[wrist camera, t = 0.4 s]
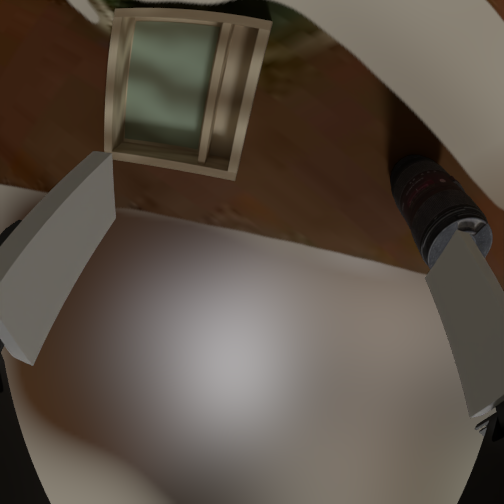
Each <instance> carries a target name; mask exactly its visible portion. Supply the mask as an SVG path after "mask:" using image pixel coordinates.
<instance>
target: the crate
mask: <svg viewBox="0 0 504 504" xmlns="http://www.w3.org/2000/svg"><path fill="white" fill-rule="evenodd" d="M271 27H272V21H268V20H263V19H257V18H252V17H246V16H240V15H234V14H227V13H219V12H211V11H201V10H189V9H172V8H120V9H115V13H114V19H113V26H112V33H111V40H110V49H109V58H108V69H107V81H106V98H105V127H104V152H106V153H112V159H113V160H120V161H126V162H133V163H139V164H146V165H152V166H158V167H164V168H170V169H175V170H181V171H187V172H192V173H197V174H203V175H208V176H213V177H218V178H223V179H228V180H233V181H235V179H236V175H237V171H238V167H239V162H240V158H241V153H242V149H243V144H244V140H245V135H246V131H247V126H248V122H249V118H250V113H251V109H252V105H253V100H254V96H255V92H256V88H257V83H258V79H259V75H260V71H261V67H262V63H263V59H264V55H265V51H266V47H267V43H268V39H269V35H270V31H271Z"/></svg>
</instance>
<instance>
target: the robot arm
mask: <svg viewBox="0 0 504 504" xmlns="http://www.w3.org/2000/svg"><path fill="white" fill-rule="evenodd" d="M115 219H116V214H115V201H114V186H113V165H112V153H106V152H97V151H93V152H92V153H91V154H90V155H89V156H87V157H86V158H85V159H84V160H83V161H82V162H81V163H79V164H78V165H77V166H76V167H75V168H74V169H73V170H72V171H71V172H70V173H69V174H67V175H66V176H65V177H64V178H63V179H62V180H61V181H60V182H59V183H58V184H57V185H56V186H55V187H54V188H53V189H52V190H51V191H50V192H49V193H48V194H47V195H46V196H45V197H44V198H43V199H42V200H41V201H40V202H39V203H38V204H37V205H36V206H35V207H34V208H33V209H32V211H31V212H30V213H29V214H28V215H27V216H26V217H25V218H24V219H23V220H18V221H16V222H15V223H13V224H12V225H10V226H9V227H8V228H6V229H5V230H4V231H3V232H2V233H1V235H0V504H51V503H50V501H49V499H48V497H47V495H46V493H45V491H44V488H43V486H42V484H41V482H40V480H39V477H38V475H37V472H36V470H35V468H34V465H33V463H32V460H31V457H30V455H29V452H28V449H27V446H26V444H25V441H24V438H23V435H22V432H21V429H20V425H19V422H18V419H17V415H16V412H15V408H14V404H13V400H12V396H11V392H10V388H9V383H8V378H7V374H6V368H5V363H4V359H3V357H2V355H1V351H2V349H3V347H4V346H5V347H6V348H7V350H8V351H9V352H10V354H11V355H12V356H13V357H15V358H17V359H19V360H21V361H23V362H26V363H28V364H30V365H32V366H33V365H34V362H35V360H36V358H37V356H38V354H39V351H40V349H41V347H42V345H43V343H44V341H45V339H46V337H47V335H48V333H49V331H50V329H51V327H52V325H53V323H54V320H55V319H56V317H57V315H58V313H59V311H60V309H61V307H62V305H63V304H64V302H65V300H66V298H67V296H68V294H69V293H70V291H71V289H72V287H73V286H74V284H75V282H76V280H77V279H78V277H79V275H80V274H81V272H82V270H83V268H84V267H85V265H86V264H87V262H88V260H89V259H90V257H91V255H92V254H93V252H94V251H95V249H96V247H97V246H98V244H99V243H100V241H101V240H102V238H103V237H104V235H105V233H106V232H107V230H108V229H109V227H110V226H111V224H112V223H113V221H114V220H115ZM425 279H426V282H427V284H428V286H429V289H430V291H431V294H432V296H433V299H434V302H435V304H436V306H437V309H438V312H439V314H440V317H441V320H442V323H443V326H444V329H445V331H446V335H447V337H448V340H449V343H450V347H451V350H452V353H453V356H454V359H455V363H456V366H457V369H458V373H459V376H460V380H461V384H462V388H463V391H464V395H465V399H466V403H467V408H468V412H469V417H470V418H471V417H477V416H482V415H484V414H486V413H487V412H489V411H490V410H492V409H493V408H494V407H496V411H497V412H496V413H494V414H493V415H491V416H490V417H488V418H487V419H485V420H483V421H482V422H480V423H479V424H477V426H476V428H475V429H476V430H477V429H479V428H481V427H483V426H484V425H486V427H485V428H483V429H481V430H480V431H479V433H481V434H482V435H483V436H484V439H483V442H482V445H481V448H480V450H479V453H478V456H477V459H476V461H475V464H474V467H473V469H472V472H471V474H470V477H469V479H468V481H467V484H466V486H465V489H464V491H463V493H462V495H461V497H460V499H459V501H458V503H457V504H504V292H503V290H502V288H501V286H500V284H499V282H498V281H497V279H496V277H495V275H494V273H493V272H492V270H491V268H490V267H489V265H488V263H487V262H486V260H485V258H484V257H483V255H482V253H481V252H480V250H479V249H478V247H477V245H476V244H475V242H474V241H473V239H472V238H471V236H470V235H469V233H466V232H463V231H460V230H456V231H455V233H454V235H453V236H452V238H451V239H450V241H449V243H448V244H447V246H446V247H445V249H444V250H443V252H442V254H441V255H440V257H439V258H438V260H437V261H436V263H435V264H434V266H433V267H432V269H431V270H430V271H429V273H428V274H427V276H426V277H425Z"/></svg>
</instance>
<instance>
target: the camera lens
mask: <svg viewBox="0 0 504 504" xmlns="http://www.w3.org/2000/svg"><path fill="white" fill-rule="evenodd" d="M391 190H392V194H393V197H394V199H395V202H396V205H397V207H398V209H399V211H400V212H401V214H402V216H403V217H404V218H405V220H406V222H407V224H408V226H409V228H410V230H411V233H412V236H413V238H414V241H415V243H416V245H417V247H418V249H419V252H420V254H421V256H422V258H423V260H424V262H425V263H426V264H427V265H428V266H429V268H430V270H431V269H432V267H433V266H434V264H435V263H436V261H437V260H438V258H439V257H440V255H441V254H442V252H443V250H444V249H445V247H446V246H447V244H448V243H449V241H450V239H451V238H452V236H453V235H454V233H455V231H456V230H460V231H463V232H466V233H469V235H470V236H471V238H472V239H473V241H474V242H475V244H476V245H477V247H478V249H479V250H480V252H481V253H482V255H483V257H484V258H485V257H486V255H487V254H488V252H489V250H490V247H491V244H492V230H491V228H490V226H489V224H488V222H487V219H486V217H485V215H484V214H483V212H482V211H481V210H480V209H479V207H478V206H477V205H476V204H475V203H474V201H473V200H472V199H471V198H470V197H469V196H468V195H467V194H466V193H465V191H464V189H463V188H462V186H461V185H460V184H459V182H458V181H457V180H455V179H454V177H452V176H450V175H449V174H448V173H447V172H446V171H445V170H444V169H443V168H442V167H441V166H440V165H438V164H437V163H436V162H434V161H433V160H431V159H429V158H426V157H423V156H420V155H410V156H407V157H405V158H403V159H401V160H400V161H399V162H398V163H397V164H396V165H395V167H394V169H393V171H392V174H391Z"/></svg>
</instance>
